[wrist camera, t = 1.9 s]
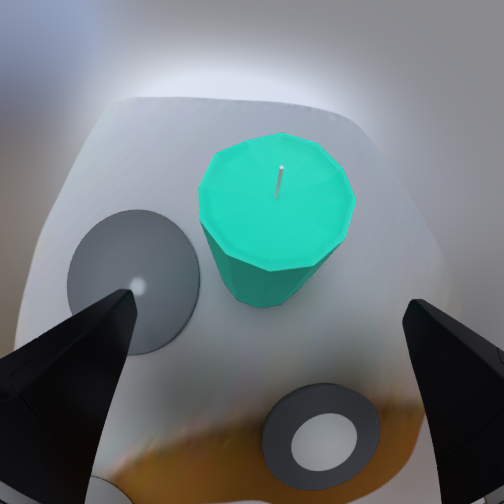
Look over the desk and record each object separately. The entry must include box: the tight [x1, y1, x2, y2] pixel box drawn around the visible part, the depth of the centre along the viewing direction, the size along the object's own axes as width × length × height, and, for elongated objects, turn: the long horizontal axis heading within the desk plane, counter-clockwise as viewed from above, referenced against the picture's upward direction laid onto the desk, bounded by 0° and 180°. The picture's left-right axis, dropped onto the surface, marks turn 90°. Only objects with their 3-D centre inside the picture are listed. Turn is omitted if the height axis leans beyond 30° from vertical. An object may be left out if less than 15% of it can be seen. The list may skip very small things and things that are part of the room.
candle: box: [198, 133, 356, 308], centre depth 14 cm, size 6×6×12 cm
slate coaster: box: [67, 210, 200, 355], centre depth 19 cm, size 11×11×1 cm
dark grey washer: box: [261, 383, 380, 490], centre depth 15 cm, size 8×8×2 cm
